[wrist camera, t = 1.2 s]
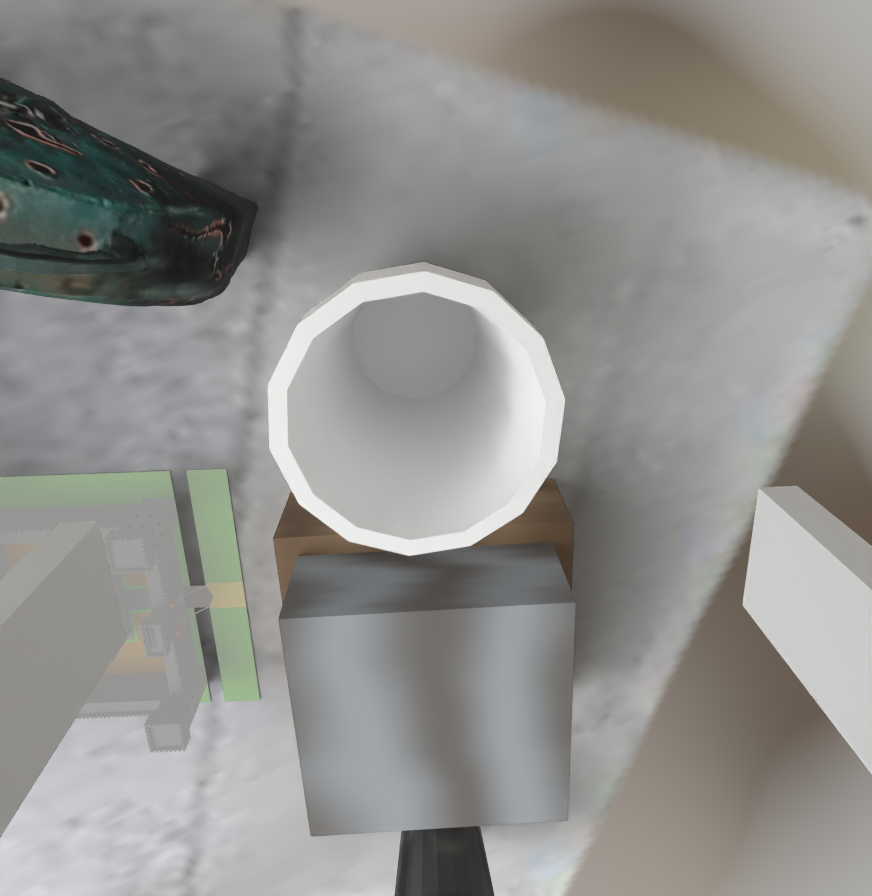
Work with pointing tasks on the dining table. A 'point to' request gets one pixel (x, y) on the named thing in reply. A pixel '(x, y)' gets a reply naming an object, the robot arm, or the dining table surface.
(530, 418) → the foam cup
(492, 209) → the dining table surface
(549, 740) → the block tower
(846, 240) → the dining table surface
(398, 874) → the beverage cup
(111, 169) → the green elephant statue
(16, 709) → the robot arm
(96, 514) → the castle model
